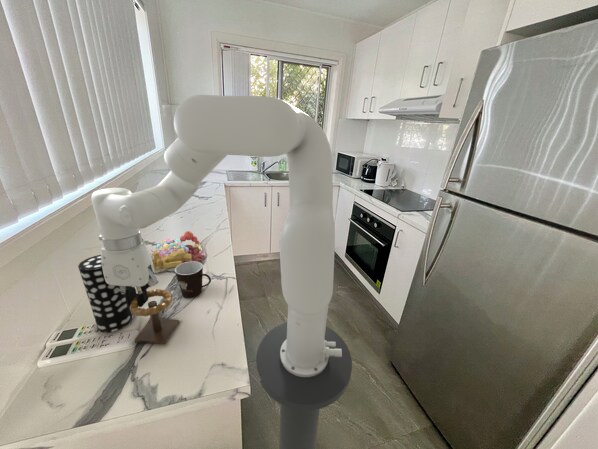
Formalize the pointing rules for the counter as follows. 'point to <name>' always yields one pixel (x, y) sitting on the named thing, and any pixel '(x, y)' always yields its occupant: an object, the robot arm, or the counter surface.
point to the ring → (152, 310)
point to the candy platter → (176, 253)
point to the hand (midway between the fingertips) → (138, 302)
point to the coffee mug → (190, 278)
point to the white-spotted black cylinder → (104, 297)
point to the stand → (156, 329)
